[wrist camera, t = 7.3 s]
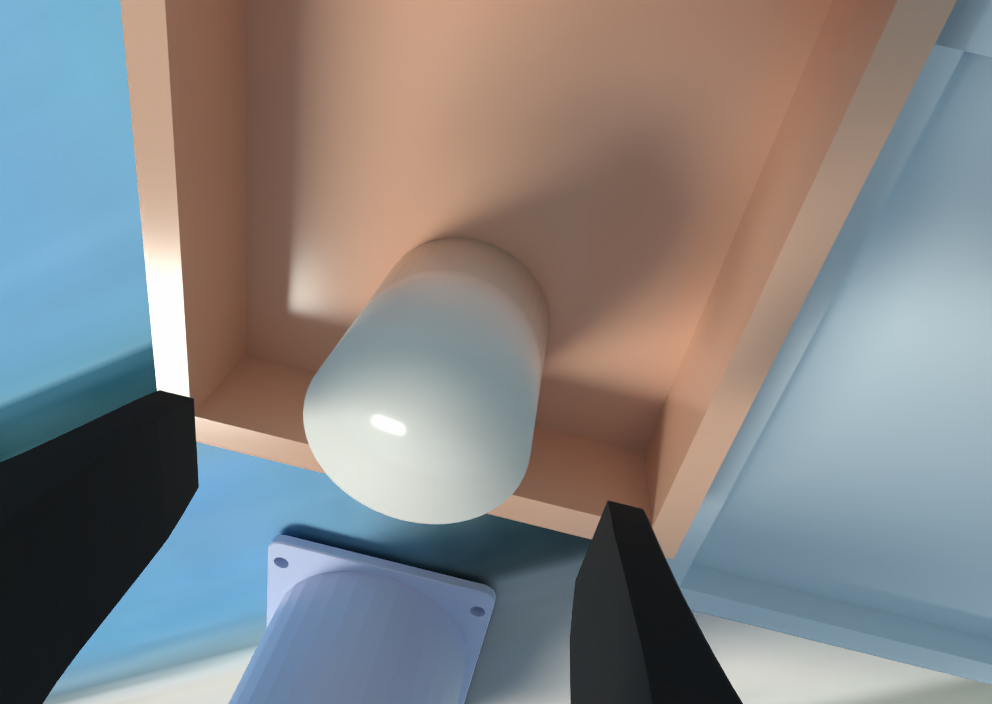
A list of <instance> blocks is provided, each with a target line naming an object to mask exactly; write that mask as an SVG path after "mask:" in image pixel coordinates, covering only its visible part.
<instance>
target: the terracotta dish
mask: <svg viewBox="0 0 992 704" xmlns="http://www.w3.org/2000/svg"><path fill="white" fill-rule="evenodd" d="M956 1H957V0H120V2H121V13H122V23H123V34H124V45H125V55H126V66H127V76H128V87H129V98H130V108H131V119H132V129H133V140H134V150H135V161H136V172H137V182H138V193H139V203H140V214H141V225H142V235H143V246H144V256H145V267H146V278H147V288H148V299H149V309H150V320H151V331H152V341H153V352H154V362H155V373H156V384H157V391H158V390H162V391H166V392H170V393H174V394H178V395H182V396H186V397H190V398H194V410H195V429H196V442H199V443H203V444H207V445H211V446H215V447H220V448H224V449H228V450H232V451H236V452H240V453H244V454H248V455H252V456H256V457H260V458H264V459H268V460H272V461H276V462H280V463H284V464H288V465H292V466H296V467H300V468H304V469H308V470H313V471H317V472H321V473H325V472H324V470H323V469H322V467H321V466H320V464H319V463H318V462H317V460H316V458H315V456H314V454H313V452H312V450H311V449H310V446H309V443H308V440H307V438H306V433H305V429H304V422H303V408H304V400H305V396H306V393H307V389H308V387H309V385H310V383H311V381H312V379H313V377H314V376H315V374H316V373H317V371H318V370H319V369H320V367H321V366H322V364H323V363H324V362H325V360H326V359H327V358H328V356H329V355H330V353H331V352H332V351H333V349H334V348H335V347H336V345H337V344H338V342H339V341H340V340H341V338H342V337H343V336H344V334H345V333H346V331H347V330H348V329H349V327H350V326H351V325H352V323H353V322H354V320H355V319H356V318H357V316H358V315H359V314H360V312H361V311H362V309H363V308H364V307H365V305H366V304H367V303H368V301H369V300H370V298H371V297H372V296H373V294H374V293H375V292H376V290H377V289H378V287H379V286H380V285H381V283H382V282H383V281H384V279H385V278H386V276H387V275H388V274H389V272H390V271H391V269H392V268H393V267H394V265H395V264H396V263H397V262H398V261H399V260H400V259H401V258H402V257H403V256H404V255H406V254H407V253H408V252H410V251H411V250H413V249H414V248H416V247H418V246H420V245H422V244H425V243H427V242H430V241H434V240H438V239H443V238H453V237H455V238H470V239H476V240H480V241H483V242H487V243H490V244H492V245H494V246H497V247H499V248H501V249H503V250H504V251H506V252H508V253H510V254H511V255H512V256H514V257H515V258H516V259H518V260H519V261H520V262H521V263H522V264H523V265H524V266H525V267H526V268H527V269H528V270H529V271H530V272H531V274H532V275H533V276H534V277H535V279H536V281H537V282H538V284H539V286H540V287H541V289H542V292H543V294H544V296H545V300H546V303H547V307H548V314H549V331H548V337H547V344H546V351H545V358H544V365H543V372H542V378H541V385H540V392H539V399H538V406H537V413H536V419H535V426H534V433H533V440H532V447H531V453H530V459H529V465H528V468H527V470H526V473H525V476H524V478H523V479H522V481H521V483H520V485H519V486H518V488H517V489H516V490H515V491H514V493H513V494H512V495H511V496H510V497H509V498H508V499H507V500H506V501H505V502H504V503H502V504H501V505H499V506H498V507H496V508H495V509H494V510H492V511H490V512H488V513H486V514H490V515H494V516H499V517H503V518H507V519H511V520H515V521H519V522H523V523H527V524H531V525H535V526H539V527H543V528H547V529H551V530H555V531H559V532H563V533H567V534H571V535H575V536H579V537H583V538H587V539H592V538H593V535H594V533H595V530H596V528H597V525H598V523H599V520H600V518H601V515H602V513H603V510H604V508H605V505H606V503H607V500H609V501H613V502H617V503H621V504H625V505H629V506H633V507H637V508H641V509H643V510H644V511H645V513H646V515H647V517H648V519H649V521H650V524H651V526H652V528H653V531H654V533H655V535H656V538H657V540H658V542H659V544H660V547H661V549H662V551H663V553H664V556H665V558H668V559H672V560H673V559H674V557H675V555H676V553H677V551H678V549H679V547H680V545H681V543H682V541H683V539H684V537H685V535H686V533H687V531H688V529H689V527H690V525H691V523H692V521H693V519H694V517H695V515H696V513H697V511H698V510H699V508H700V506H701V504H702V502H703V500H704V498H705V496H706V494H707V492H708V490H709V488H710V486H711V484H712V482H713V480H714V478H715V476H716V474H717V472H718V470H719V468H720V466H721V464H722V462H723V460H724V458H725V456H726V454H727V452H728V450H729V448H730V446H731V445H732V443H733V441H734V439H735V437H736V435H737V433H738V431H739V429H740V427H741V425H742V423H743V421H744V419H745V417H746V415H747V413H748V411H749V409H750V407H751V405H752V403H753V401H754V399H755V397H756V395H757V393H758V391H759V389H760V387H761V385H762V383H763V381H764V380H765V378H766V376H767V374H768V372H769V370H770V368H771V366H772V364H773V362H774V360H775V358H776V356H777V354H778V352H779V350H780V348H781V346H782V344H783V342H784V340H785V338H786V336H787V334H788V332H789V330H790V328H791V326H792V324H793V322H794V320H795V318H796V316H797V314H798V313H799V311H800V309H801V307H802V305H803V303H804V301H805V299H806V297H807V295H808V293H809V291H810V289H811V287H812V285H813V283H814V281H815V279H816V277H817V275H818V273H819V271H820V269H821V267H822V265H823V263H824V261H825V259H826V257H827V255H828V253H829V251H830V249H831V248H832V246H833V244H834V242H835V240H836V238H837V236H838V234H839V232H840V230H841V228H842V226H843V224H844V222H845V220H846V218H847V216H848V214H849V212H850V210H851V208H852V206H853V204H854V202H855V200H856V198H857V196H858V194H859V192H860V190H861V188H862V186H863V184H864V183H865V181H866V179H867V177H868V175H869V173H870V171H871V169H872V167H873V165H874V163H875V161H876V159H877V157H878V155H879V153H880V151H881V149H882V147H883V145H884V143H885V141H886V139H887V137H888V135H889V133H890V131H891V129H892V127H893V125H894V123H895V121H896V119H897V117H898V116H899V114H900V112H901V110H902V108H903V106H904V104H905V102H906V100H907V98H908V96H909V94H910V92H911V90H912V88H913V86H914V84H915V82H916V80H917V78H918V76H919V74H920V72H921V70H922V68H923V66H924V64H925V62H926V60H927V58H928V56H929V54H930V52H931V51H932V49H933V47H934V45H935V43H936V41H937V39H938V37H939V35H940V33H941V31H942V29H943V27H944V25H945V23H946V21H947V19H948V17H949V15H950V13H951V11H952V9H953V7H954V5H955V3H956ZM325 474H326V473H325Z"/></svg>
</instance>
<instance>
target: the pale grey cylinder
mask: <svg viewBox="0 0 992 704" xmlns="http://www.w3.org/2000/svg"><path fill="white" fill-rule="evenodd" d="M548 331H549V314H548V307H547V303H546V300H545V296H544V294H543V292H542V289H541V287H540V286H539V284H538V282H537V281H536V279H535V277H534V276H533V275H532V274H531V272H530V271H529V270H528V269H527V268H526V267H525V266H524V265H523V264H522V263H521V262H520V261H519V260H518V259H516V258H515V257H514V256H512V255H511V254H510V253H508V252H506V251H504V250H503V249H501V248H499V247H497V246H494V245H492V244H490V243H487V242H483V241H480V240H476V239H470V238H455V237H453V238H443V239H438V240H434V241H430V242H427V243H425V244H422V245H420V246H418V247H416V248H414V249H413V250H411V251H410V252H408V253H407V254H406V255H404V256H403V257H402V258H401V259H400V260H399V261H398V262H397V263H396V264H395V265H394V267H393V268H392V269H391V271H390V272H389V274H388V275H387V276H386V278H385V279H384V281H383V282H382V283H381V285H380V286H379V287H378V289H377V290H376V292H375V293H374V294H373V296H372V297H371V298H370V300H369V301H368V303H367V304H366V305H365V307H364V308H363V309H362V311H361V312H360V314H359V315H358V316H357V318H356V319H355V320H354V322H353V323H352V325H351V326H350V327H349V329H348V330H347V331H346V333H345V334H344V336H343V337H342V338H341V340H340V341H339V342H338V344H337V345H336V347H335V348H334V349H333V351H332V352H331V353H330V355H329V356H328V358H327V359H326V360H325V362H324V363H323V364H322V366H321V367H320V369H319V370H318V371H317V373H316V374H315V376H314V377H313V379H312V381H311V383H310V385H309V387H308V389H307V393H306V396H305V400H304V408H303V422H304V429H305V433H306V438H307V440H308V443H309V446H310V449H311V450H312V452H313V454H314V456H315V458H316V460H317V462H318V463H319V464H320V466H321V467H322V469H323V470H324V472H325V473H326V474H327V475H328V476H329V477H330V478H331V480H332V481H333V482H334V483H335V484H337V485H338V486H339V487H340V488H341V489H342V490H343V491H344V492H346V493H347V494H348V495H350V496H351V497H352V498H354V499H355V500H357V501H359V502H360V503H362V504H363V505H365V506H367V507H369V508H371V509H373V510H375V511H377V512H380V513H382V514H385V515H387V516H390V517H393V518H397V519H400V520H404V521H409V522H415V523H423V524H449V523H457V522H462V521H466V520H470V519H473V518H476V517H479V516H482V515H484V514H486V513H488V512H490V511H492V510H494V509H495V508H496V507H498V506H499V505H501V504H502V503H504V502H505V501H506V500H507V499H508V498H509V497H510V496H511V495H512V494H513V493H514V491H515V490H516V489H517V488H518V486H519V485H520V483H521V481H522V479H523V478H524V476H525V473H526V470H527V468H528V465H529V459H530V453H531V447H532V440H533V433H534V426H535V419H536V413H537V406H538V399H539V392H540V385H541V378H542V372H543V365H544V358H545V351H546V344H547V337H548Z"/></svg>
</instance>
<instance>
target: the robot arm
mask: <svg viewBox="0 0 992 704" xmlns="http://www.w3.org/2000/svg"><path fill="white" fill-rule="evenodd" d="M198 487H199V485H198V466H197V448H196V429H195V410H194V398H190V397H186V396H182V395H178V394H174V393H170V392H166V391H162V390H158V391H156V392H153V393H151V394H149V395H146V396H144V397H142V398H140V399H137V400H135V401H133V402H131V403H129V404H127V405H124V406H122V407H120V408H118V409H116V410H114V411H112V412H110V413H108V414H105V415H103V416H101V417H99V418H97V419H95V420H93V421H91V422H89V423H87V424H85V425H82V426H80V427H78V428H76V429H74V430H72V431H70V432H67V433H65V434H63V435H61V436H59V437H57V438H54V439H52V440H50V441H48V442H46V443H44V444H42V445H39V446H37V447H35V448H33V449H31V450H29V451H26V452H24V453H22V454H19V455H17V456H15V457H12V458H10V459H8V460H5V461H3V462H1V463H0V704H43V702H44V701H45V699H46V697H47V696H48V694H49V693H50V691H51V690H52V688H53V687H54V685H55V684H56V682H57V681H58V680H59V678H60V677H61V675H62V674H63V673H64V671H65V670H66V669H67V667H68V666H69V665H70V663H71V662H72V660H73V659H74V658H75V656H76V655H77V654H78V652H79V651H80V650H81V649H82V647H83V646H84V645H85V644H86V642H87V641H88V640H89V639H90V637H91V636H92V635H93V633H94V632H95V631H96V630H97V628H98V627H99V626H100V625H101V623H102V622H103V621H104V620H105V618H106V617H107V616H108V614H109V613H110V612H111V611H112V609H113V608H114V607H115V606H116V604H117V603H118V602H119V601H120V599H121V598H122V597H123V596H124V594H125V593H126V592H127V591H128V589H129V588H130V587H131V585H132V584H133V583H134V582H135V580H136V579H137V578H138V577H139V575H140V574H141V573H142V571H143V570H144V569H145V568H146V566H147V565H148V564H149V562H150V561H151V560H152V559H153V557H154V556H155V555H156V553H157V552H158V551H159V550H160V548H161V547H162V546H163V544H164V543H165V542H166V540H167V539H168V537H169V536H170V534H171V533H172V531H173V529H174V528H175V526H176V525H177V523H178V521H179V520H180V518H181V517H182V515H183V513H184V511H185V510H186V508H187V506H188V505H189V503H190V501H191V499H192V498H193V496H194V494H195V492H196V491H197V489H198ZM495 599H496V593H495V592H494V590H493V589H492V588H491V587H489V586H487V585H484V584H480V583H476V582H472V581H468V580H464V579H460V578H456V577H452V576H448V575H444V574H440V573H436V572H432V571H428V570H424V569H420V568H416V567H412V566H408V565H404V564H400V563H396V562H392V561H388V560H384V559H380V558H376V557H372V556H368V555H364V554H360V553H356V552H352V551H348V550H344V549H340V548H336V547H332V546H328V545H324V544H320V543H316V542H312V541H308V540H304V539H300V538H296V537H291V536H287V535H278V536H275V537H274V538H273V539H272V541H271V543H270V545H269V547H268V582H267V629H266V631H265V633H264V635H263V637H262V639H261V641H260V643H259V644H258V646H257V648H256V650H255V652H254V654H253V656H252V658H251V660H250V662H249V664H248V666H247V668H246V670H245V672H244V674H243V676H242V678H241V680H240V682H239V684H238V686H237V688H236V690H235V692H234V694H233V696H232V698H231V700H230V702H229V704H464V702H465V699H466V696H467V692H468V689H469V686H470V683H471V679H472V676H473V673H474V670H475V667H476V663H477V660H478V657H479V654H480V650H481V647H482V644H483V641H484V637H485V634H486V631H487V628H488V625H489V621H490V618H491V615H492V612H493V608H494V605H495ZM570 687H571V704H743V703H742V701H741V700H740V698H739V696H738V695H737V693H736V692H735V690H734V688H733V687H732V685H731V683H730V681H729V680H728V678H727V676H726V674H725V673H724V671H723V669H722V667H721V666H720V664H719V662H718V661H717V659H716V657H715V655H714V653H713V652H712V650H711V648H710V646H709V644H708V642H707V641H706V639H705V637H704V635H703V633H702V631H701V629H700V627H699V625H698V623H697V621H696V619H695V618H694V616H693V614H692V612H691V610H690V608H689V606H688V604H687V602H686V600H685V598H684V596H683V594H682V592H681V590H680V588H679V586H678V584H677V581H676V579H675V577H674V575H673V573H672V571H671V569H670V566H669V564H668V562H667V560H666V558H665V556H664V553H663V551H662V549H661V547H660V544H659V542H658V540H657V538H656V535H655V533H654V531H653V528H652V526H651V524H650V521H649V519H648V517H647V515H646V513H645V511H644V510H643V509H641V508H637V507H633V506H629V505H625V504H621V503H617V502H613V501H609V500H607V503H606V505H605V508H604V510H603V513H602V515H601V518H600V520H599V523H598V525H597V528H596V530H595V533H594V535H593V538H592V540H591V543H590V546H589V548H588V551H587V553H586V556H585V558H584V561H583V563H582V566H581V568H580V571H579V573H578V576H577V578H576V581H575V591H574V601H573V610H572V621H571V633H570Z"/></svg>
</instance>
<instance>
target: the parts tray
mask: <svg viewBox="0 0 992 704" xmlns="http://www.w3.org/2000/svg"><path fill="white" fill-rule="evenodd" d="M666 560H667V562H668V564H669V566H670V569H671V571H672V573H673V575H674V577H675V579H676V581H677V584H678V586H679V588H680V590H681V592H682V594H683V596H684V598H685V600H686V602H687V604H688V606H689V608H690V610H693V611H697V612H701V613H705V614H709V615H713V616H717V617H721V618H725V619H729V620H733V621H737V622H741V623H745V624H749V625H753V626H757V627H761V628H765V629H769V630H773V631H778V632H782V633H786V634H790V635H794V636H798V637H802V638H806V639H810V640H814V641H818V642H822V643H826V644H830V645H834V646H838V647H842V648H846V649H850V650H854V651H858V652H862V653H866V654H870V655H874V656H878V657H882V658H886V659H890V660H894V661H898V662H902V663H906V664H910V665H914V666H918V667H922V668H927V669H931V670H935V671H939V672H943V673H947V674H951V675H955V676H959V677H963V678H967V679H971V680H975V681H979V682H983V683H987V684H991V685H992V0H957V1H956V3H955V5H954V7H953V9H952V11H951V13H950V15H949V17H948V19H947V21H946V23H945V25H944V27H943V29H942V31H941V33H940V35H939V37H938V39H937V41H936V43H935V45H934V47H933V49H932V51H931V52H930V54H929V56H928V58H927V60H926V62H925V64H924V66H923V68H922V70H921V72H920V74H919V76H918V78H917V80H916V82H915V84H914V86H913V88H912V90H911V92H910V94H909V96H908V98H907V100H906V102H905V104H904V106H903V108H902V110H901V112H900V114H899V116H898V117H897V119H896V121H895V123H894V125H893V127H892V129H891V131H890V133H889V135H888V137H887V139H886V141H885V143H884V145H883V147H882V149H881V151H880V153H879V155H878V157H877V159H876V161H875V163H874V165H873V167H872V169H871V171H870V173H869V175H868V177H867V179H866V181H865V183H864V184H863V186H862V188H861V190H860V192H859V194H858V196H857V198H856V200H855V202H854V204H853V206H852V208H851V210H850V212H849V214H848V216H847V218H846V220H845V222H844V224H843V226H842V228H841V230H840V232H839V234H838V236H837V238H836V240H835V242H834V244H833V246H832V248H831V249H830V251H829V253H828V255H827V257H826V259H825V261H824V263H823V265H822V267H821V269H820V271H819V273H818V275H817V277H816V279H815V281H814V283H813V285H812V287H811V289H810V291H809V293H808V295H807V297H806V299H805V301H804V303H803V305H802V307H801V309H800V311H799V313H798V314H797V316H796V318H795V320H794V322H793V324H792V326H791V328H790V330H789V332H788V334H787V336H786V338H785V340H784V342H783V344H782V346H781V348H780V350H779V352H778V354H777V356H776V358H775V360H774V362H773V364H772V366H771V368H770V370H769V372H768V374H767V376H766V378H765V380H764V381H763V383H762V385H761V387H760V389H759V391H758V393H757V395H756V397H755V399H754V401H753V403H752V405H751V407H750V409H749V411H748V413H747V415H746V417H745V419H744V421H743V423H742V425H741V427H740V429H739V431H738V433H737V435H736V437H735V439H734V441H733V443H732V445H731V446H730V448H729V450H728V452H727V454H726V456H725V458H724V460H723V462H722V464H721V466H720V468H719V470H718V472H717V474H716V476H715V478H714V480H713V482H712V484H711V486H710V488H709V490H708V492H707V494H706V496H705V498H704V500H703V502H702V504H701V506H700V508H699V510H698V511H697V513H696V515H695V517H694V519H693V521H692V523H691V525H690V527H689V529H688V531H687V533H686V535H685V537H684V539H683V541H682V543H681V545H680V547H679V549H678V551H677V553H676V555H675V557H674V559H673V560H672V559H668V558H666Z"/></svg>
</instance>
